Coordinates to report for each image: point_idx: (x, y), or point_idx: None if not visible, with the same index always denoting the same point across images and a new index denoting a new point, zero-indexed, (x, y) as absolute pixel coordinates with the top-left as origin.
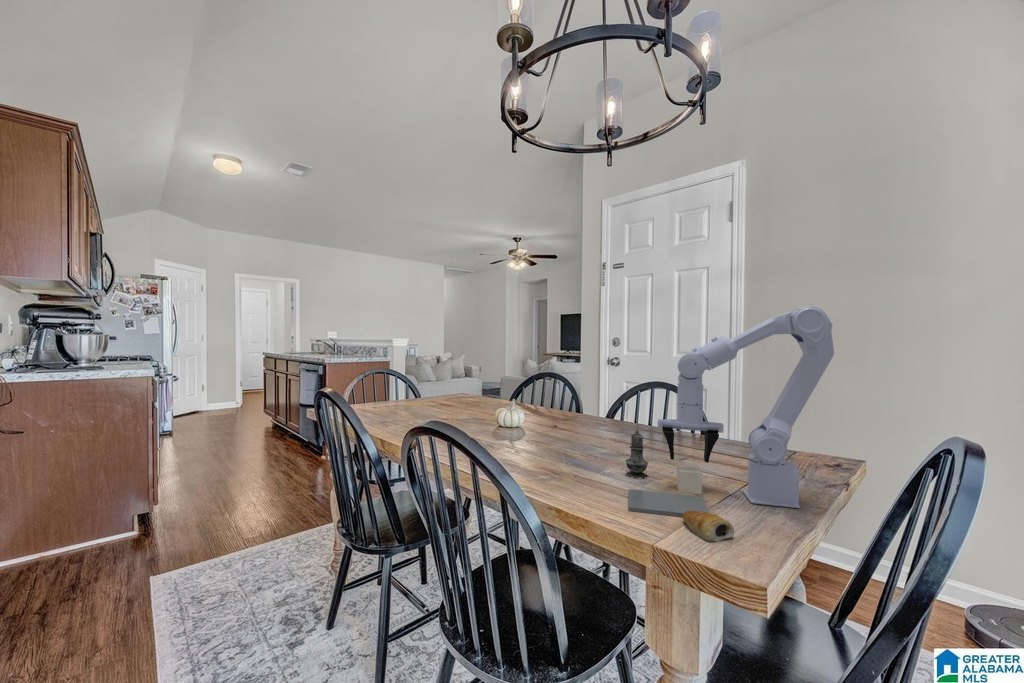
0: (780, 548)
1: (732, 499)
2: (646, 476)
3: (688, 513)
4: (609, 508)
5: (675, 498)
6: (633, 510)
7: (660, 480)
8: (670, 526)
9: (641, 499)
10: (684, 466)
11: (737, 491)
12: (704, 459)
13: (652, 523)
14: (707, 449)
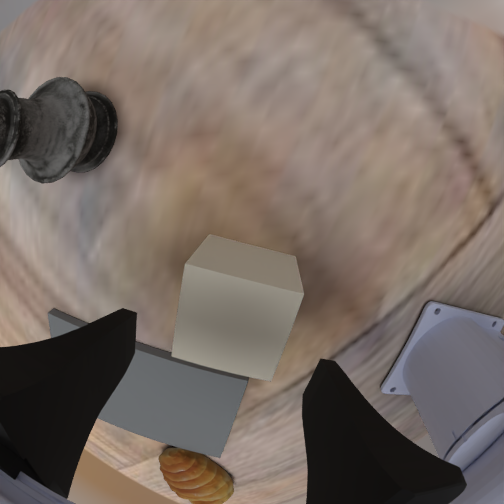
0: (287, 495)
1: (350, 364)
2: (110, 147)
3: (165, 470)
4: None
5: (160, 387)
6: None
7: (155, 182)
8: (139, 451)
9: None
10: (220, 289)
11: (413, 297)
12: (315, 375)
13: (111, 439)
14: (310, 465)
